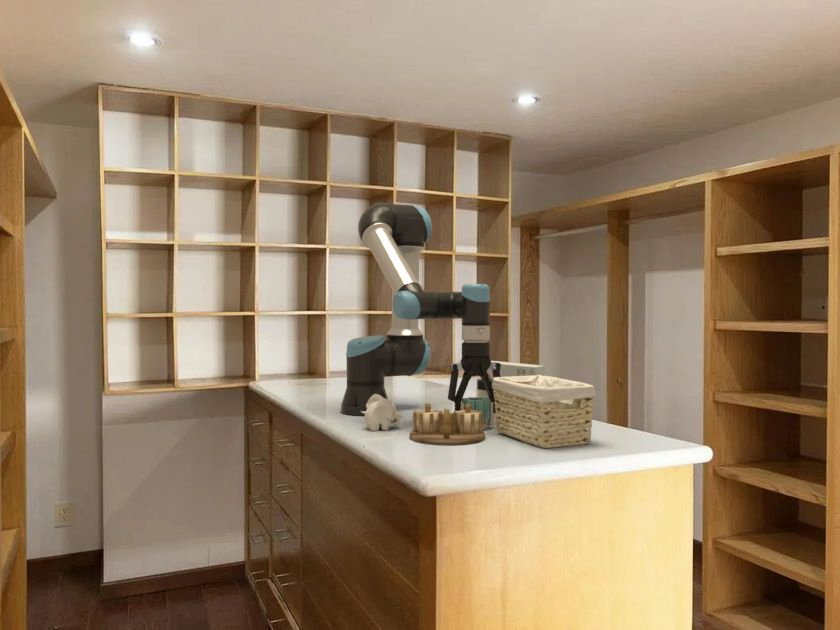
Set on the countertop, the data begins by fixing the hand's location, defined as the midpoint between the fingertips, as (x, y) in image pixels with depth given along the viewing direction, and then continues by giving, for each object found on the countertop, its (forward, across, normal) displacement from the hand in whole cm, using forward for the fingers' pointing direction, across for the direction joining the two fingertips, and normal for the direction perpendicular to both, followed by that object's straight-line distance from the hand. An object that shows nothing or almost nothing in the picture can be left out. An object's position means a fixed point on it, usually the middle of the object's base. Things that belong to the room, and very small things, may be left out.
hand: (475, 426), depth 186 cm
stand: (+1, 0, 0) cm, 1 cm away
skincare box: (+1, +18, +17) cm, 25 cm away
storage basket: (+1, +11, -17) cm, 20 cm away
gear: (-2, 0, 0) cm, 2 cm away
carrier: (+1, -11, -10) cm, 15 cm away
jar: (+1, +8, +9) cm, 12 cm away
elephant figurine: (+1, -24, +7) cm, 25 cm away
